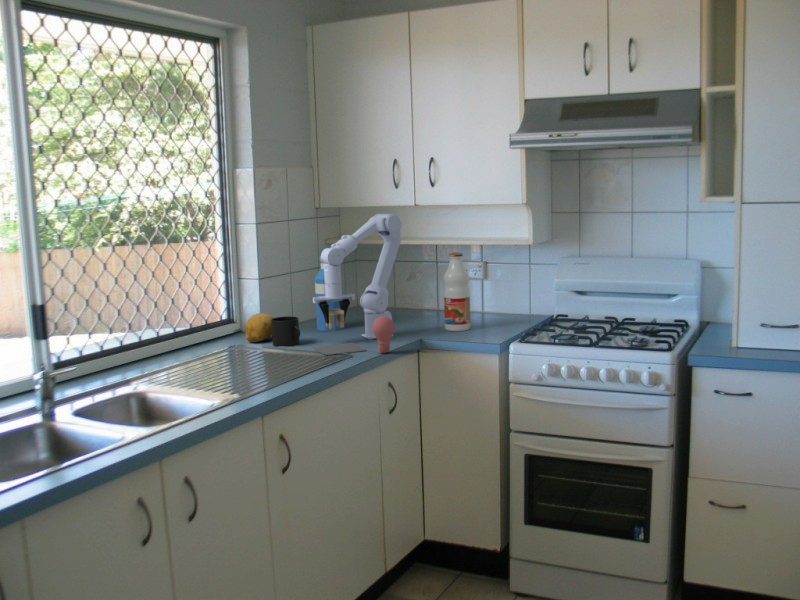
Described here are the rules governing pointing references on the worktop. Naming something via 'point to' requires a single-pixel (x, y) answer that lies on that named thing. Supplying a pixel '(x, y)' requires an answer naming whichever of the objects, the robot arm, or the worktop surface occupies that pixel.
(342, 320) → the stool
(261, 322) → the potato
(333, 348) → the mat
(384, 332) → the light bulb
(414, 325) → the worktop surface
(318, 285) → the water bottle
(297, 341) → the mug
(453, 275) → the fruit juice
